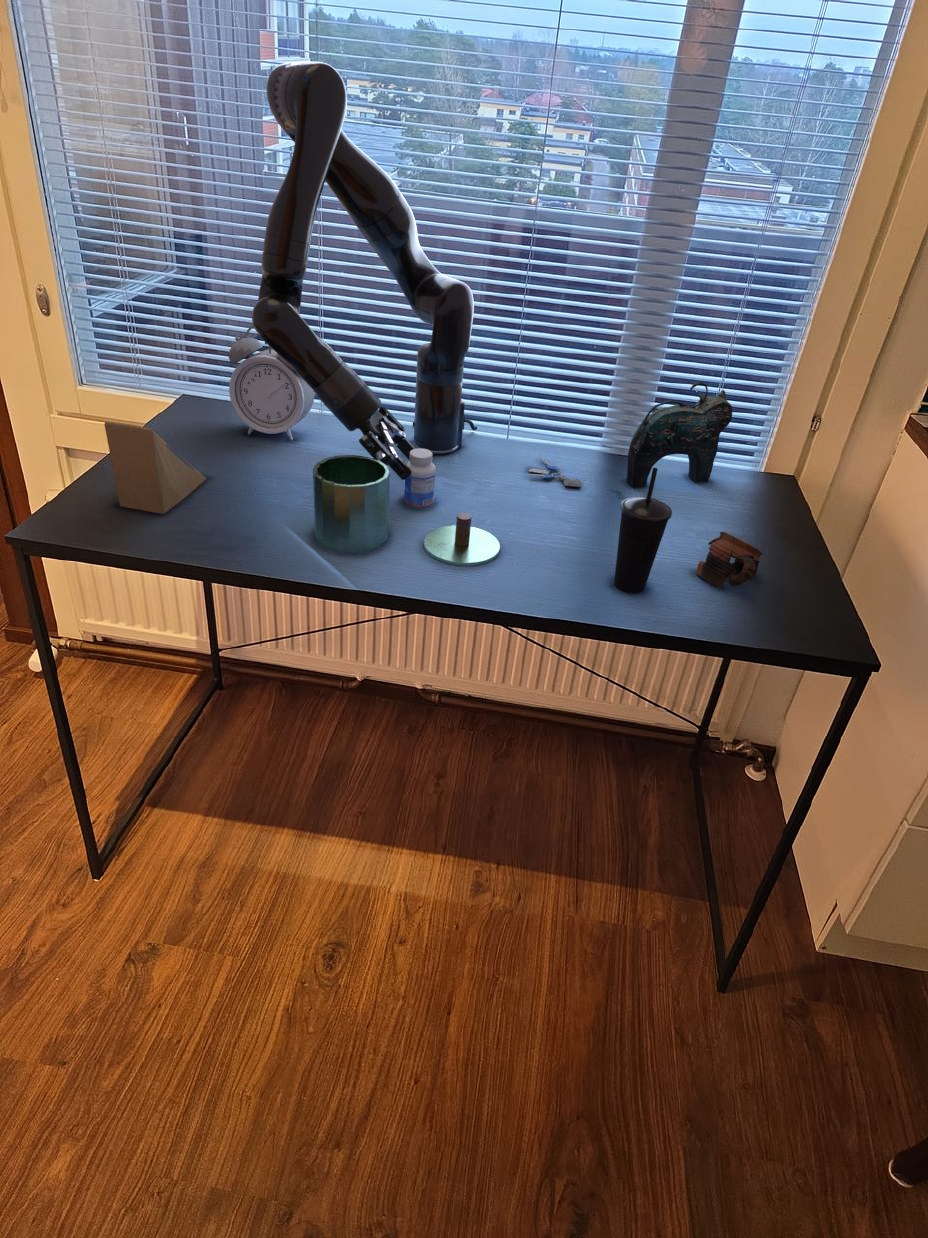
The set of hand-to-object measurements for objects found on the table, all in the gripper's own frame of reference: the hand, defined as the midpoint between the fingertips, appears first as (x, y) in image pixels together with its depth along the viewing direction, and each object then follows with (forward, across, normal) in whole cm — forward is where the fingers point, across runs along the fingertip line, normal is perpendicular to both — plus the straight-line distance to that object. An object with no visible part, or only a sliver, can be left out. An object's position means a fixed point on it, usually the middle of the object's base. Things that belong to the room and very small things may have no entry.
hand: (411, 466), depth 145 cm
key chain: (+23, +17, -13) cm, 31 cm away
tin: (0, -15, +10) cm, 18 cm away
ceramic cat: (+40, +21, -30) cm, 55 cm away
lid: (+12, -15, -3) cm, 20 cm away
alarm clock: (-18, +25, +28) cm, 41 cm away
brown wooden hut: (+44, -15, -34) cm, 57 cm away
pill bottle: (+6, 0, +4) cm, 7 cm away
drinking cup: (+32, -21, -22) cm, 44 cm away
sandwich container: (-25, -6, +35) cm, 44 cm away
